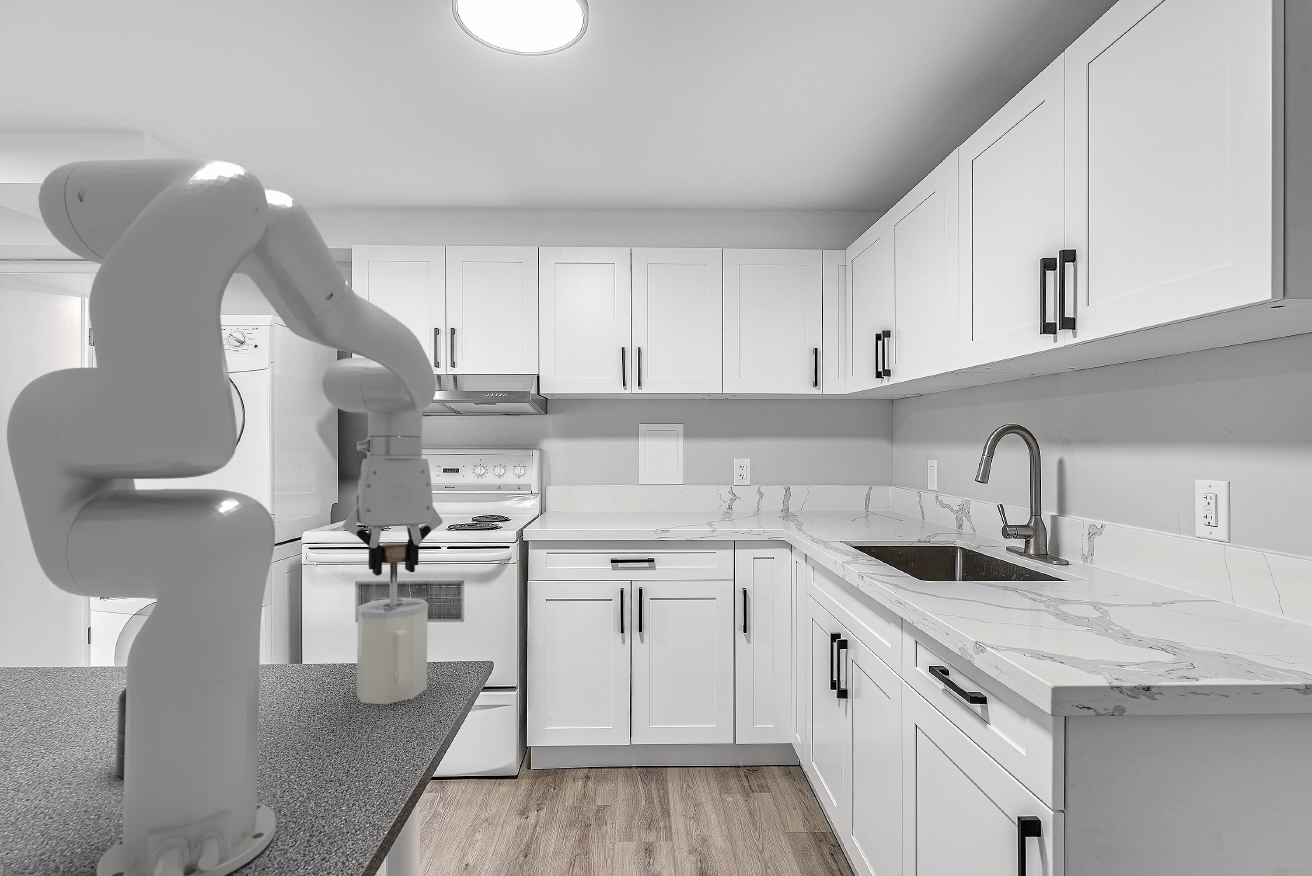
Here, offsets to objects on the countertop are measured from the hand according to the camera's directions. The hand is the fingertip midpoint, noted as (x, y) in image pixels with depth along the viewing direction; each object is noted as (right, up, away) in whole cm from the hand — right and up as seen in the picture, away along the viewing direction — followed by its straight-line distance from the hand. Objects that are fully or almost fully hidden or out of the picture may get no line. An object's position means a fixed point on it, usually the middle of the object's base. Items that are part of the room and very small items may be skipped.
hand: (393, 571), depth 95 cm
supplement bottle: (-17, -17, -23) cm, 34 cm away
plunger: (0, -13, 0) cm, 13 cm away
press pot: (+1, -18, -2) cm, 18 cm away
